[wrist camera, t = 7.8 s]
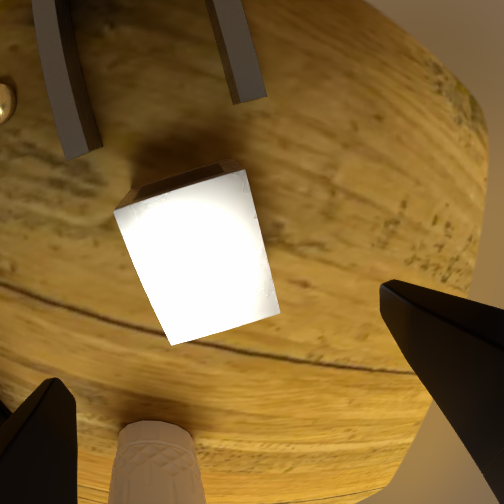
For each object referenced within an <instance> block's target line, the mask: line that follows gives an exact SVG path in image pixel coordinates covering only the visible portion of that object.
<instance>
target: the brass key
mask: <svg viewBox="0 0 504 504" xmlns="http://www.w3.org/2000/svg"><path fill="white" fill-rule="evenodd" d="M16 105H17V95H16V92H15V90H14V88H13V87H12V86H10V85H8V84H0V125H2V124H4V123H6V122H7V121H8V120H9V119H10V118H11V117H12V115H13V114H14V112H15V109H16Z"/></svg>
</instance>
